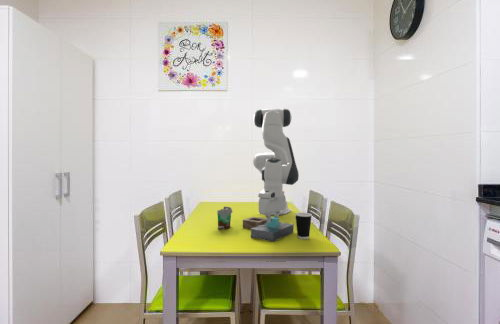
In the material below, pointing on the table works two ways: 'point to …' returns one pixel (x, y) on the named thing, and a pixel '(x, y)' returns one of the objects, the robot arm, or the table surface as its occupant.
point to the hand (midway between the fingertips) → (273, 221)
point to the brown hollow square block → (253, 222)
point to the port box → (272, 231)
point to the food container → (224, 218)
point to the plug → (273, 223)
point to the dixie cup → (303, 224)
